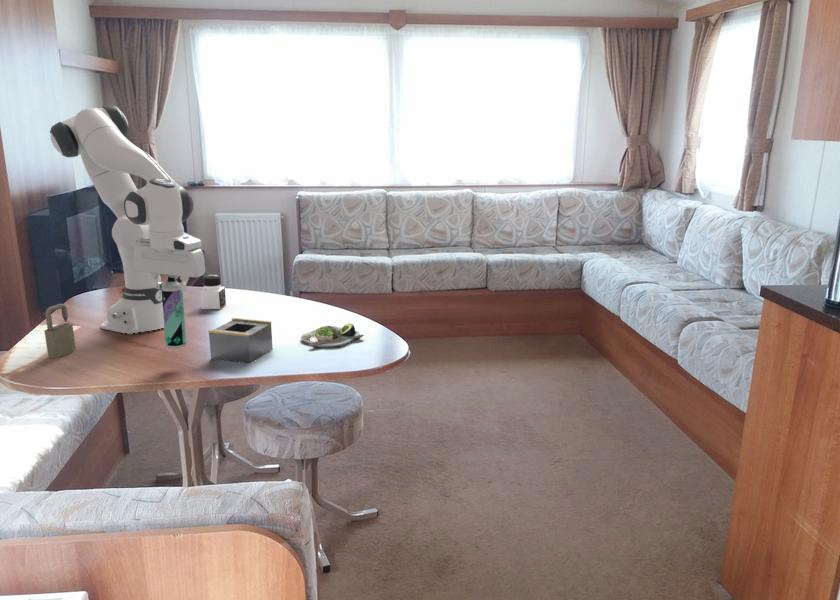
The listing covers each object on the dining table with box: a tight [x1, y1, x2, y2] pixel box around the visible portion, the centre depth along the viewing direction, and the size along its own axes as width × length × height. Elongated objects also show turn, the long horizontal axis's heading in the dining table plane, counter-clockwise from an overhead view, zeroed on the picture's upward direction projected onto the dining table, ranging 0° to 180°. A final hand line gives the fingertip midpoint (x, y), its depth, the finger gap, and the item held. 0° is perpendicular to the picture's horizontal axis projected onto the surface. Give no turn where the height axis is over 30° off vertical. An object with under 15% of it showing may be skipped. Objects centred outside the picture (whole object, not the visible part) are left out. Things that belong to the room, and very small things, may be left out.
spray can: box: [161, 275, 187, 350], centre depth 186 cm, size 6×6×20 cm
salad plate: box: [300, 323, 365, 348], centre depth 211 cm, size 19×18×5 cm
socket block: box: [207, 317, 274, 365], centre depth 198 cm, size 13×13×9 cm
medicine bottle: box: [199, 274, 227, 311], centre depth 247 cm, size 7×7×12 cm
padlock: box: [44, 303, 77, 359], centre depth 198 cm, size 4×8×15 cm, turn 163°
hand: (171, 289), depth 183 cm, fingers closed on spray can, 5 cm apart
